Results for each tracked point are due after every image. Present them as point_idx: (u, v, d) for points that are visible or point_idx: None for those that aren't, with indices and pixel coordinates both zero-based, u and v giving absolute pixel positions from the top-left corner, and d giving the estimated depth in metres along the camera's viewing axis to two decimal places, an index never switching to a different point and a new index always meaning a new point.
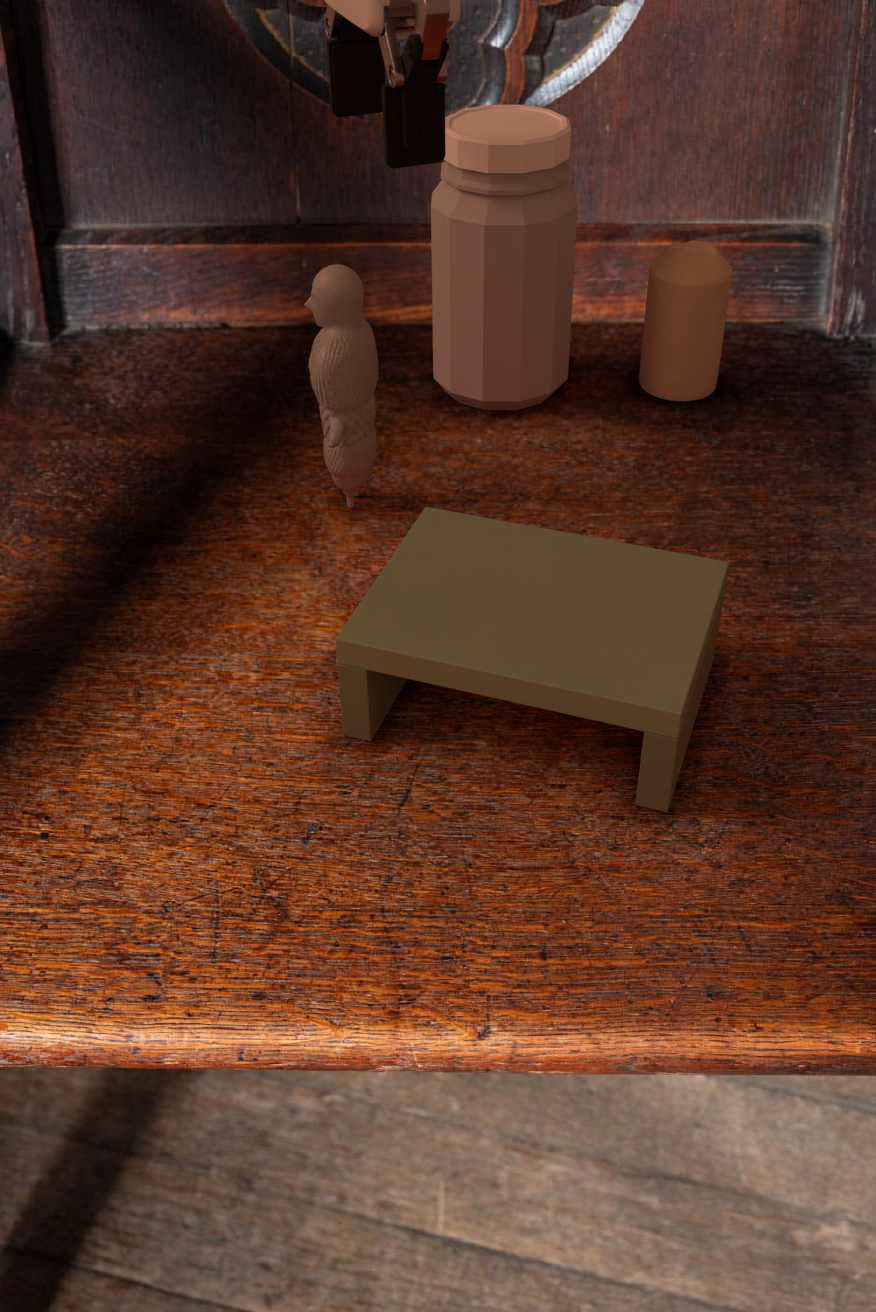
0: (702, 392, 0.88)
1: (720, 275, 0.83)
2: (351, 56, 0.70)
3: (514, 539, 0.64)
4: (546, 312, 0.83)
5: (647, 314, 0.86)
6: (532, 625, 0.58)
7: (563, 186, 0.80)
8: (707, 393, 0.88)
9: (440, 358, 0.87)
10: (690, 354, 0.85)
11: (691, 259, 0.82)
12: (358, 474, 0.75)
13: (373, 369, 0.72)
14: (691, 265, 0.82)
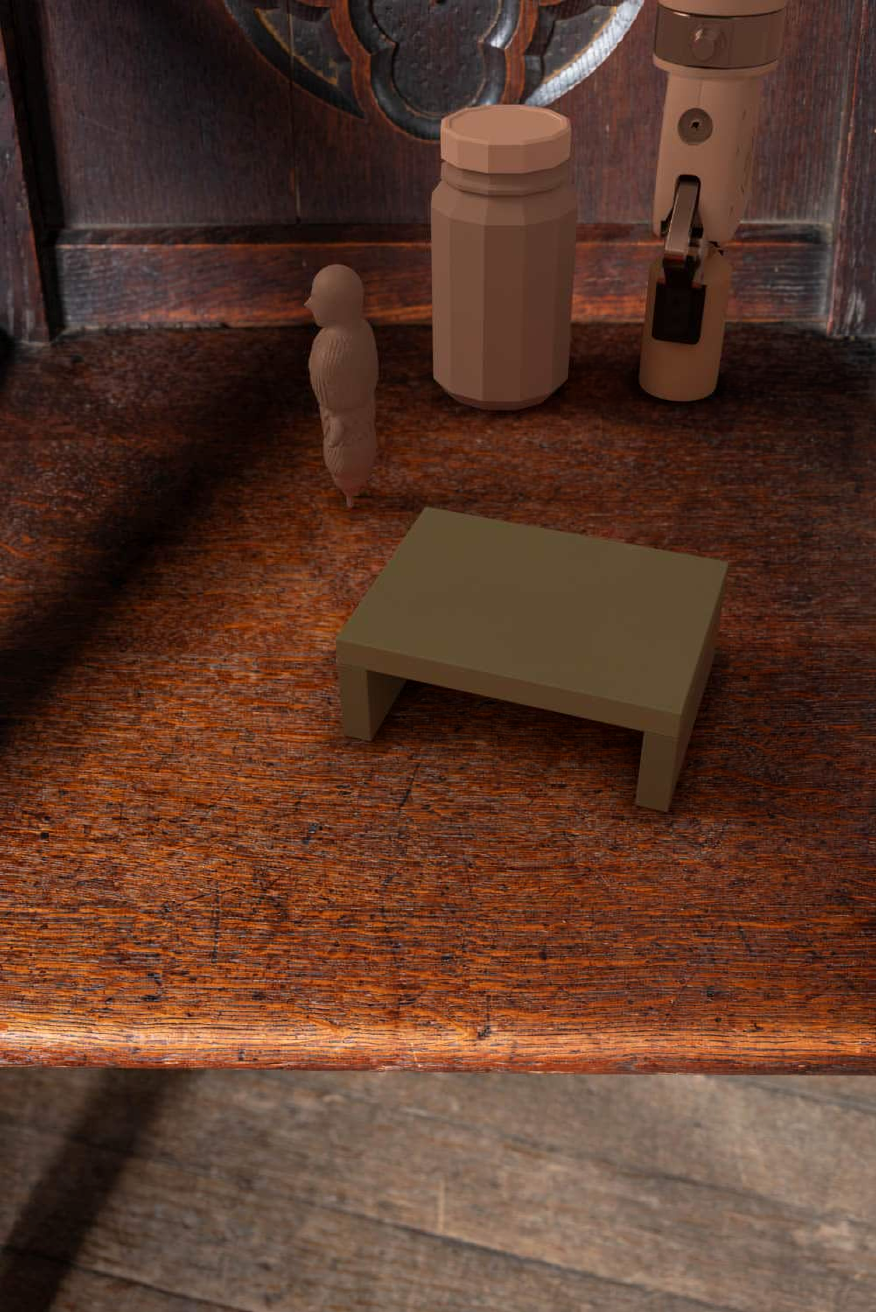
0: (702, 392, 0.88)
1: (720, 275, 0.83)
2: None
3: (514, 539, 0.64)
4: (546, 312, 0.83)
5: (647, 314, 0.86)
6: (532, 625, 0.58)
7: (563, 186, 0.80)
8: (707, 394, 0.88)
9: (440, 358, 0.87)
10: (690, 354, 0.85)
11: None
12: (358, 474, 0.75)
13: (373, 369, 0.72)
14: None
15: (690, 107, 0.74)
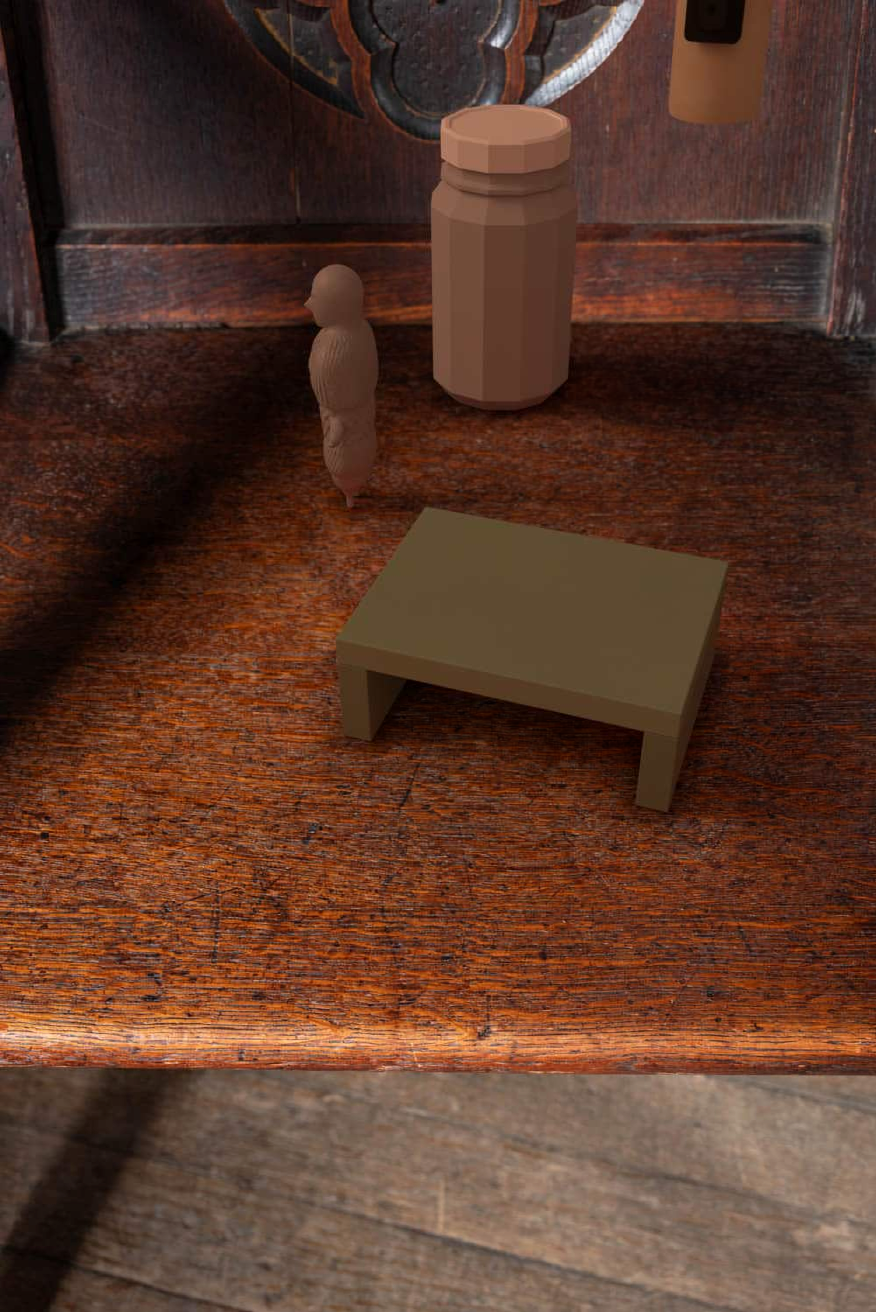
0: (743, 114, 0.75)
1: None
2: None
3: (514, 539, 0.64)
4: (546, 312, 0.83)
5: (678, 17, 0.74)
6: (532, 625, 0.58)
7: (563, 186, 0.80)
8: (748, 117, 0.75)
9: (440, 358, 0.87)
10: (728, 61, 0.73)
11: None
12: (358, 474, 0.75)
13: (373, 369, 0.72)
14: None
15: None
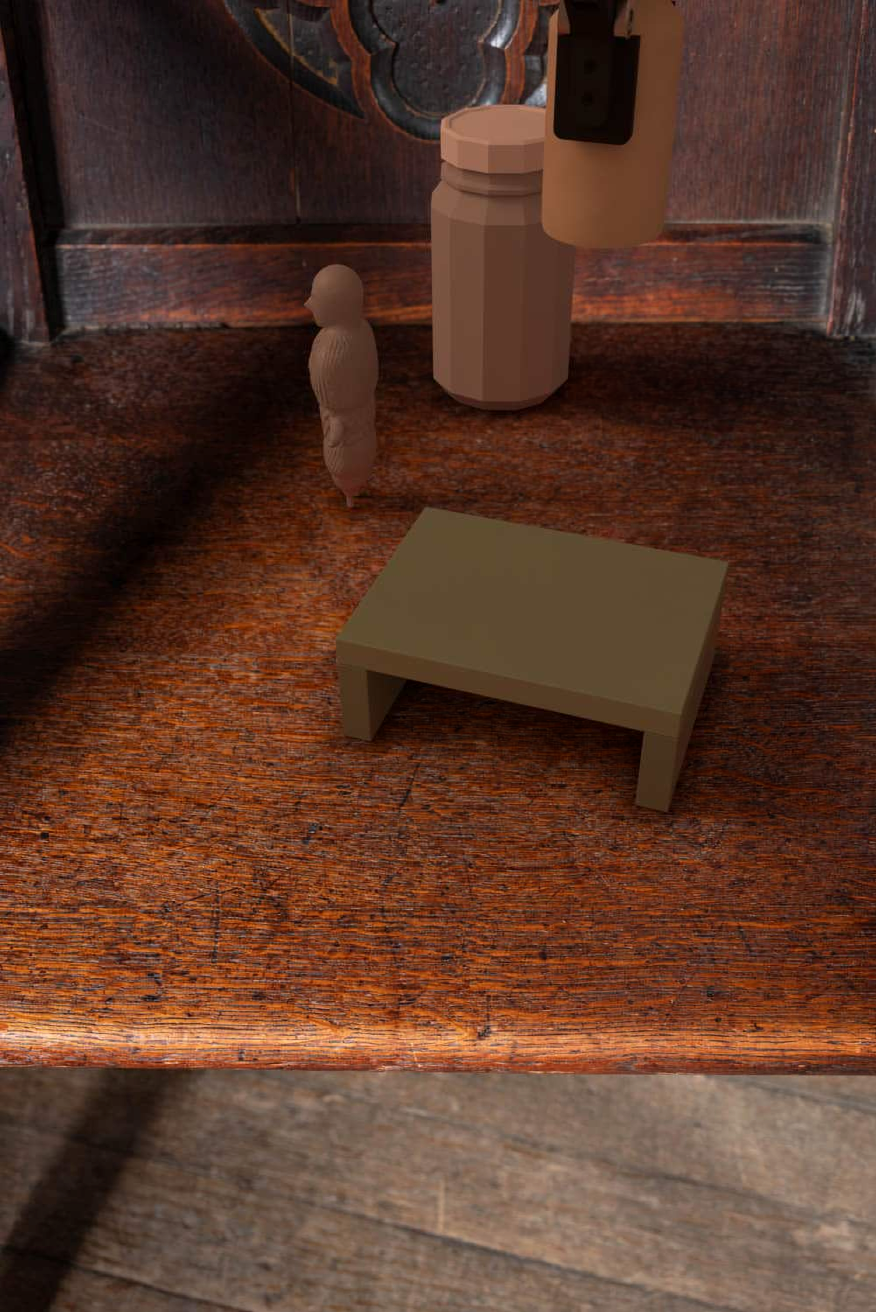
0: (639, 234, 0.54)
1: (663, 24, 0.50)
2: None
3: (514, 539, 0.64)
4: (546, 312, 0.83)
5: (548, 102, 0.53)
6: (532, 625, 0.58)
7: None
8: (647, 238, 0.55)
9: (440, 358, 0.87)
10: (616, 165, 0.52)
11: None
12: (358, 474, 0.75)
13: (373, 369, 0.72)
14: None
15: None
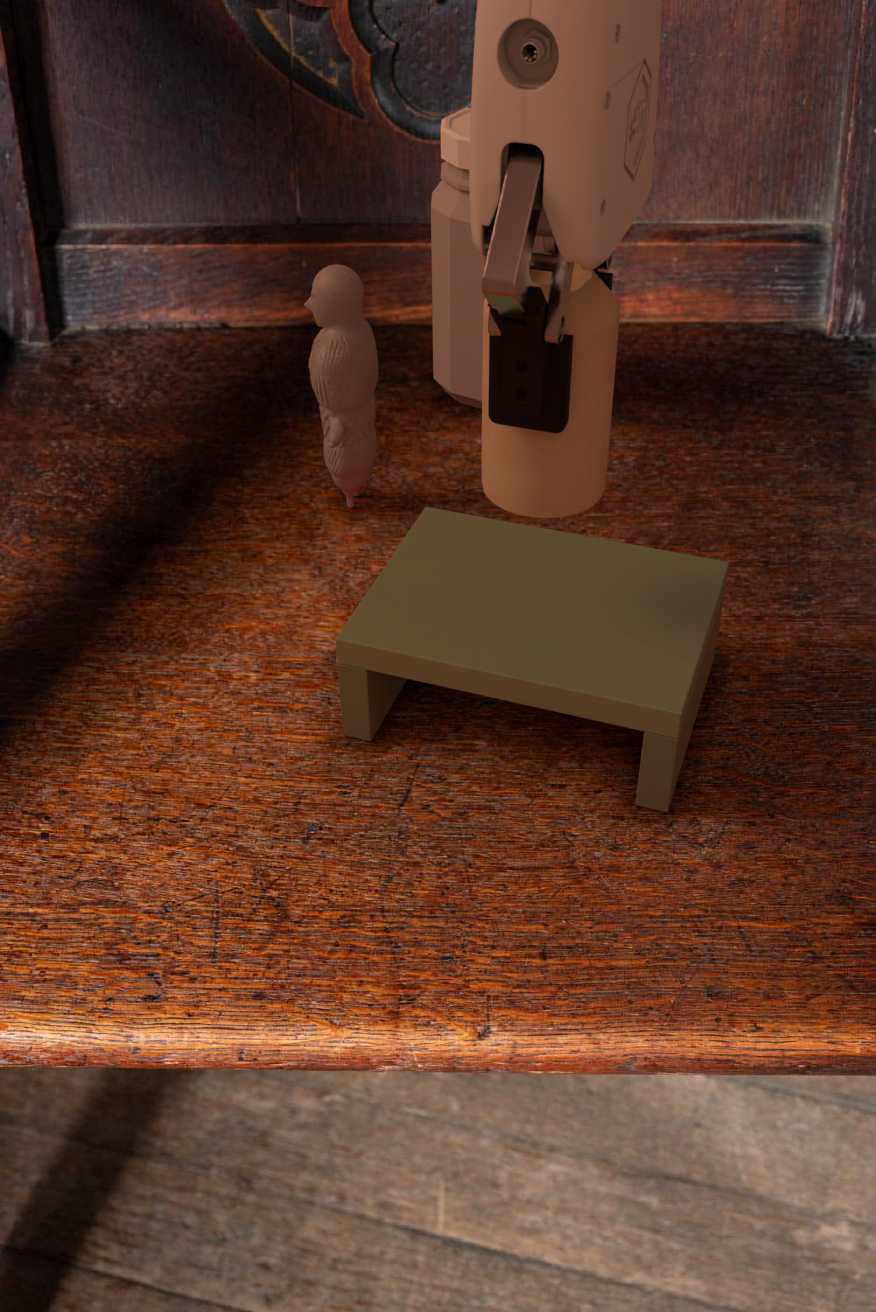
0: (578, 503, 0.54)
1: (596, 317, 0.49)
2: None
3: (514, 539, 0.64)
4: None
5: (484, 378, 0.52)
6: (532, 625, 0.58)
7: None
8: (587, 505, 0.54)
9: (440, 358, 0.87)
10: (552, 445, 0.51)
11: (547, 289, 0.49)
12: (358, 474, 0.75)
13: (373, 369, 0.72)
14: (546, 300, 0.49)
15: (517, 17, 0.40)
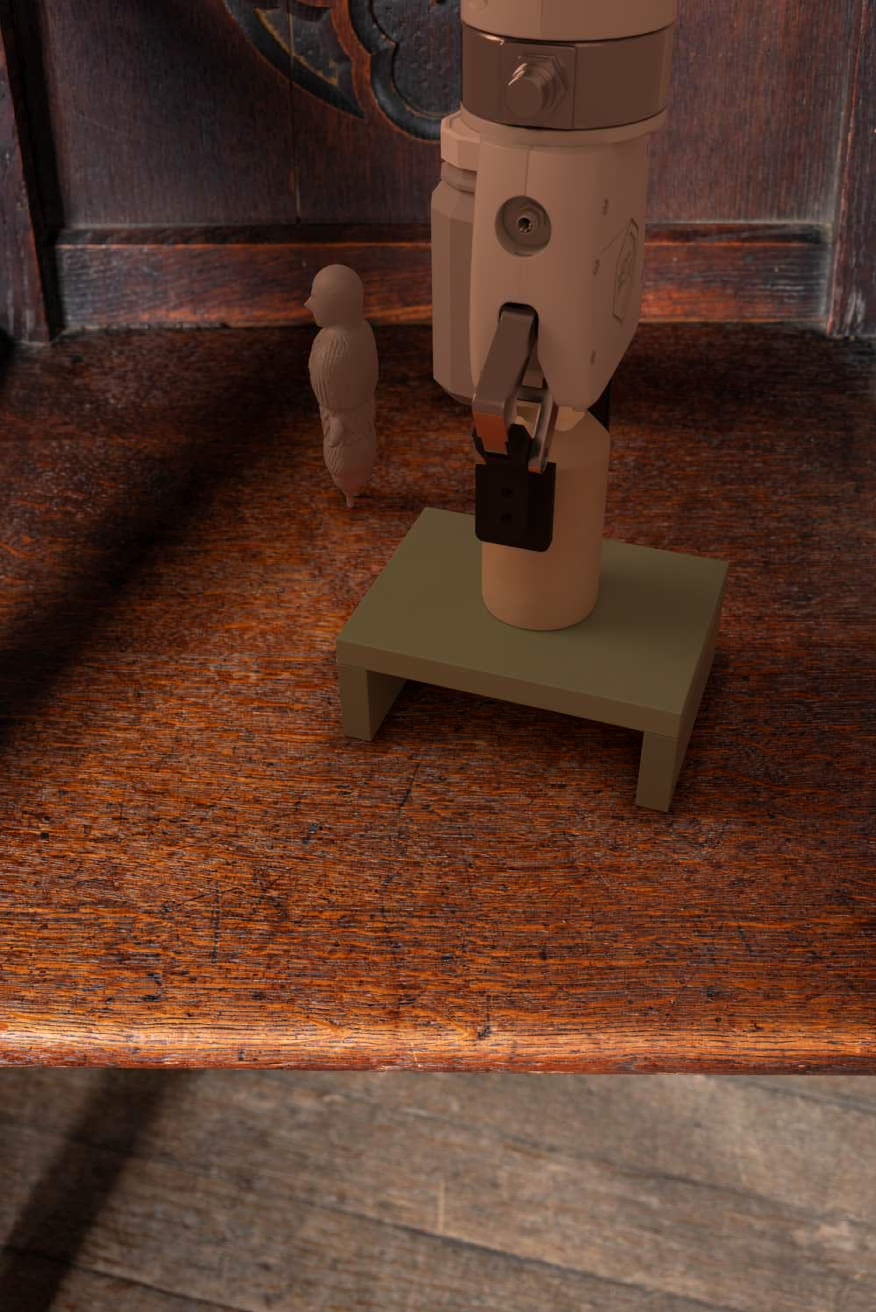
0: (572, 617, 0.58)
1: (588, 455, 0.53)
2: None
3: None
4: None
5: None
6: None
7: None
8: (580, 618, 0.58)
9: (440, 358, 0.87)
10: (548, 567, 0.55)
11: None
12: (358, 474, 0.75)
13: (373, 369, 0.72)
14: None
15: (513, 194, 0.44)
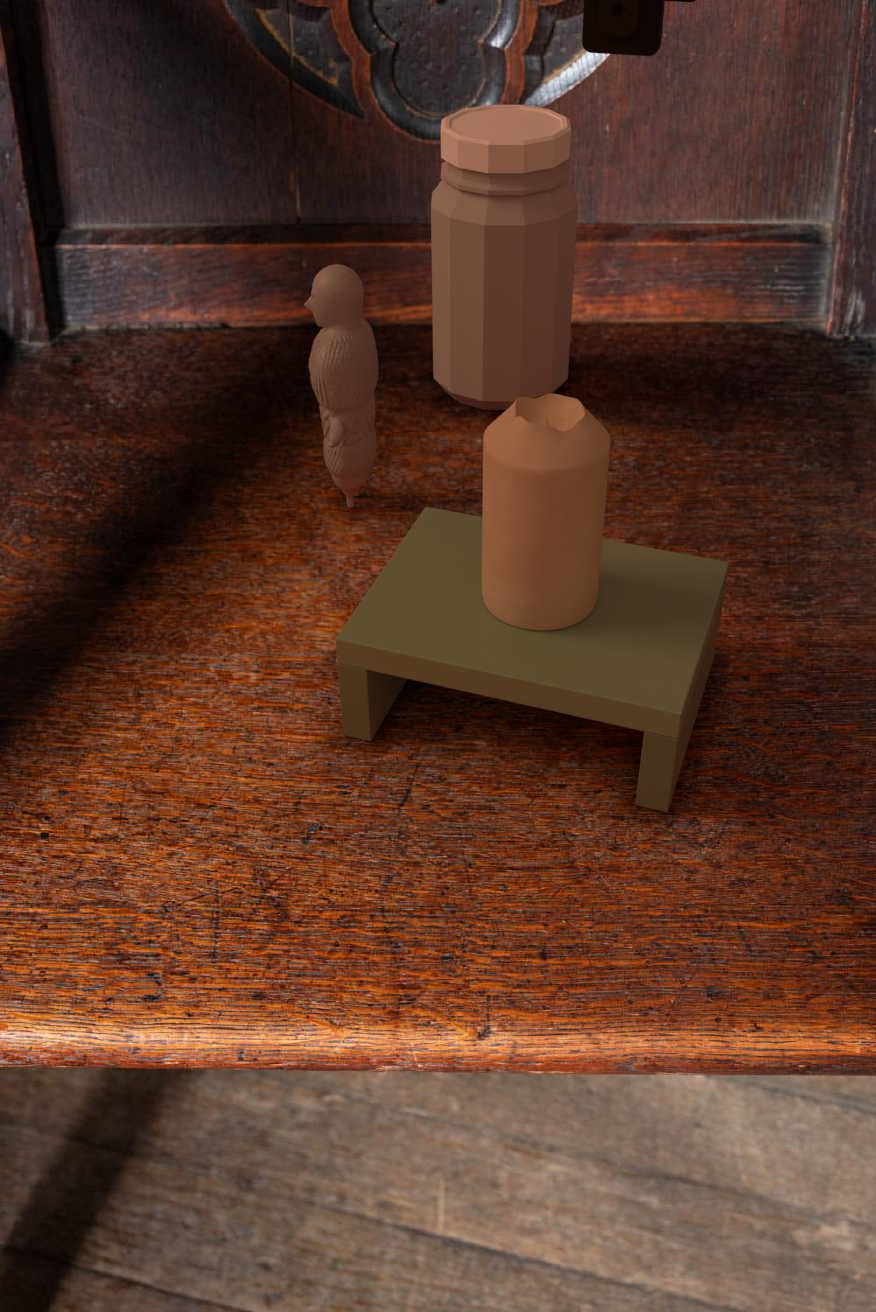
0: (572, 617, 0.58)
1: (588, 455, 0.53)
2: None
3: None
4: (546, 312, 0.83)
5: (484, 504, 0.56)
6: None
7: (563, 186, 0.80)
8: (580, 618, 0.58)
9: (440, 358, 0.87)
10: (548, 567, 0.55)
11: (542, 430, 0.53)
12: (358, 474, 0.75)
13: (373, 369, 0.72)
14: (542, 439, 0.52)
15: None
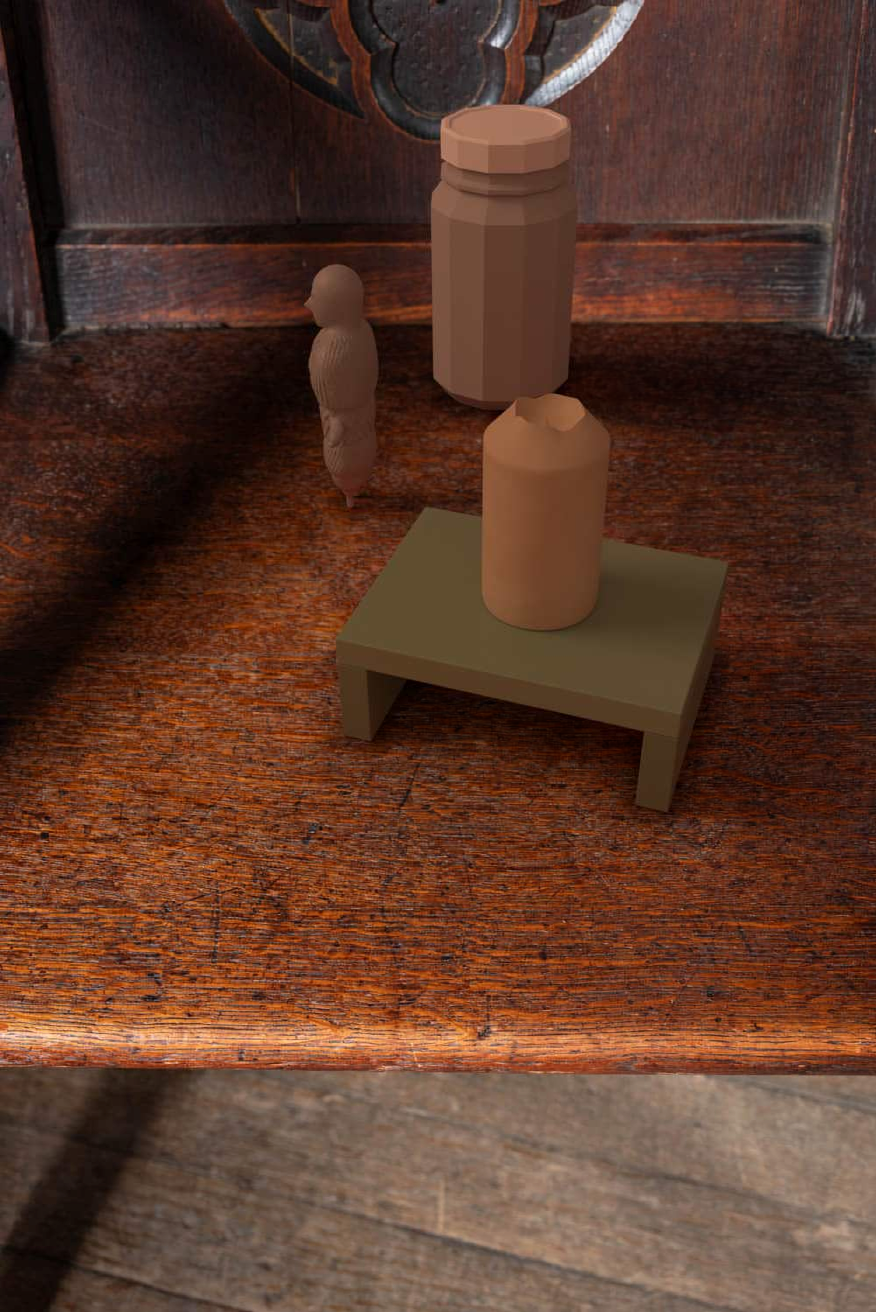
0: (572, 617, 0.58)
1: (588, 455, 0.53)
2: None
3: None
4: (546, 312, 0.83)
5: (484, 504, 0.56)
6: None
7: (563, 186, 0.80)
8: (580, 618, 0.58)
9: (440, 358, 0.87)
10: (548, 567, 0.55)
11: (542, 430, 0.53)
12: (358, 474, 0.75)
13: (373, 369, 0.72)
14: (542, 439, 0.52)
15: None
